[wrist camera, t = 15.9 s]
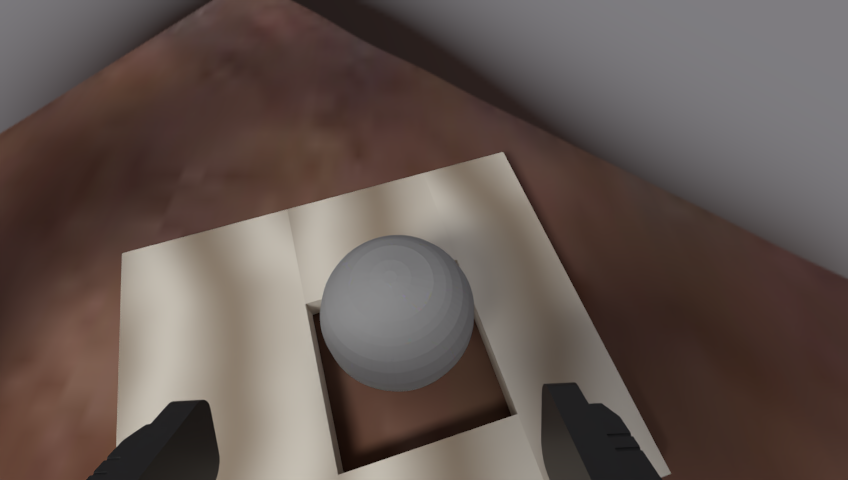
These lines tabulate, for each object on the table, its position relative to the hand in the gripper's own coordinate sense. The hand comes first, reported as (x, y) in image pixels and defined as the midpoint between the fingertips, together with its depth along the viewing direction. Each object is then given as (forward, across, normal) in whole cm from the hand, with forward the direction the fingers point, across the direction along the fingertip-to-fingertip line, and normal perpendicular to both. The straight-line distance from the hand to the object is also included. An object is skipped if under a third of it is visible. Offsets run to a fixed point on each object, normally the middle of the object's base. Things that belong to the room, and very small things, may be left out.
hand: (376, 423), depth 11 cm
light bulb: (+11, 0, +5) cm, 12 cm away
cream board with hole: (+11, +2, +4) cm, 12 cm away
